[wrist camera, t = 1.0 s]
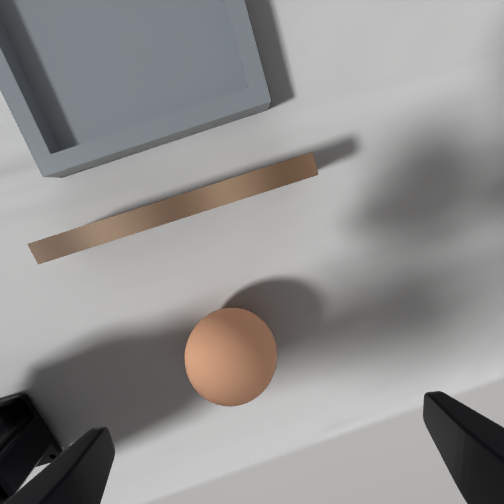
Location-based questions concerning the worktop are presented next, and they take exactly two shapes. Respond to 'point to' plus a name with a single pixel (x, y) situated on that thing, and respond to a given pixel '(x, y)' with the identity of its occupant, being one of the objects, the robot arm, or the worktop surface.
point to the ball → (230, 357)
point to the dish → (124, 75)
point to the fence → (175, 208)
